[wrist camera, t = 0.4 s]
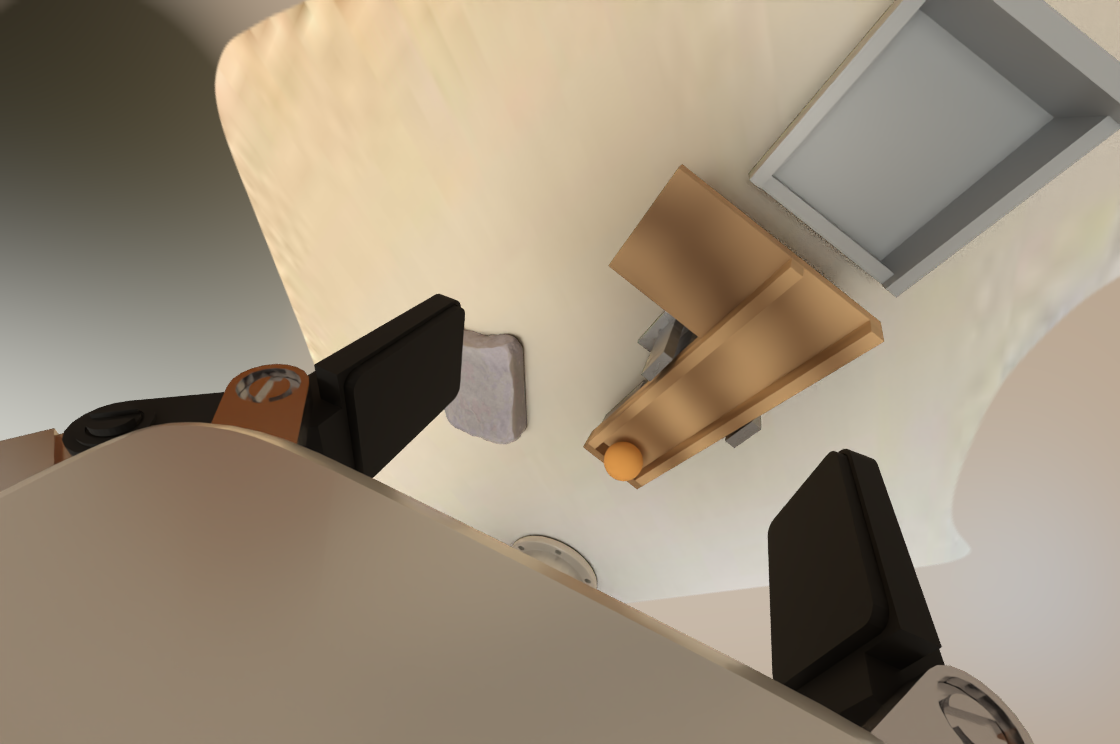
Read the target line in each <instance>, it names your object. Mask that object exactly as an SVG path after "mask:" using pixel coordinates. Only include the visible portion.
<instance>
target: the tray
mask: <svg viewBox="0 0 1120 744" xmlns="http://www.w3.org/2000/svg"><path fill="white" fill-rule="evenodd" d="M1119 129H1120V62H1119V61H1118V60H1117V59H1115V58H1114V57H1113V56H1112V55H1110V54H1109V53H1108V52H1107V51H1105V50H1104V49H1103V48H1102V47H1100V46H1099V45H1098V44H1097V43H1096V42H1094V41H1093V40H1092V39H1091V38H1089V37H1088V36H1087V35H1086V34H1084V33H1083V32H1082V31H1081V30H1079V29H1078V28H1077V27H1076V26H1075V25H1073V24H1072V23H1071V22H1070V21H1068V20H1067V19H1066V18H1065V17H1063V16H1062V15H1061V14H1060V13H1058V12H1057V11H1056V10H1055V9H1054V8H1052V7H1051V6H1050V5H1049V4H1047V3H1046V2H1045V1H1044V0H895V1H894V2H893V3H892V5H891V6H890V7H889V8H888V9H887V10H886V12H885V13H884V14H883V15H882V16H881V18H880V19H879V20H878V21H877V22H876V24H875V25H874V26H873V27H872V28H871V29H870V31H869V32H868V33H867V34H866V35H865V37H864V38H863V39H862V40H861V41H860V42H859V44H858V45H857V46H856V47H855V48H854V50H853V51H852V52H851V53H850V54H849V55H848V57H847V58H846V59H845V60H844V61H843V63H842V64H841V65H840V66H839V67H838V68H837V70H836V71H835V72H834V73H833V74H832V76H831V77H830V78H829V79H828V80H827V82H826V83H825V84H824V85H823V86H822V87H821V89H820V90H819V91H818V92H817V93H816V95H815V96H814V97H813V98H812V99H811V100H810V102H809V103H808V104H807V105H806V106H805V108H804V109H803V110H802V111H801V112H800V113H799V115H798V116H797V117H796V118H795V119H794V121H793V122H792V123H791V124H790V125H789V126H788V128H787V129H786V130H785V131H784V132H783V134H782V135H781V136H780V137H779V138H778V139H777V141H776V142H775V143H774V144H773V145H772V147H771V148H770V149H769V150H768V151H767V153H766V154H765V155H764V156H763V157H762V158H761V160H760V161H759V162H758V163H757V164H756V166H755V167H754V168H753V169H752V170H751V171H750V173H749V180H750V181H751V182H752V183H753V184H755V185H756V186H757V187H758V188H761V189H763V190H764V191H765V192H766V193H768V194H769V195H770V196H771V197H773V198H774V199H775V200H776V201H778V202H779V203H780V204H781V205H783V206H784V207H785V208H786V209H788V210H789V211H790V212H791V213H793V214H794V215H795V216H797V217H798V218H799V219H800V220H802V221H803V222H804V223H805V224H807V225H808V226H809V227H810V228H812V229H813V230H814V231H815V232H817V233H818V234H819V235H820V236H822V237H823V238H824V239H825V240H827V241H828V242H829V243H830V244H832V245H833V246H834V247H835V248H837V249H838V250H839V251H840V252H842V253H843V254H844V255H845V256H847V257H848V258H849V259H850V260H852V261H853V262H854V263H856V264H857V265H858V266H859V267H861V268H862V269H863V270H864V271H866V272H867V273H868V274H869V275H871V276H872V277H873V278H874V279H876V280H877V281H878V282H879V283H881V284H882V285H883V286H884V288H885V289H886V290H888V291H889V292H890V293H891V294H893V295H894V296H895V297H898V296H899V295H900V294H902V293H903V292H904V291H905V290H907V289H908V288H909V287H911V286H912V285H913V284H915V283H916V282H917V281H919V280H920V279H921V278H923V277H924V276H925V275H927V274H928V273H929V272H931V271H932V270H933V269H935V268H936V267H937V266H939V265H940V264H941V263H943V262H944V261H945V260H947V259H948V258H949V257H951V256H952V255H953V254H955V253H956V252H957V251H959V250H960V249H961V248H963V247H964V246H965V245H967V244H968V243H969V242H970V241H972V240H973V239H974V238H976V237H977V236H978V235H980V234H981V233H982V232H984V231H985V230H986V229H988V228H989V227H990V226H992V225H993V224H994V223H996V222H997V221H998V220H1000V219H1001V218H1002V217H1004V216H1005V215H1006V214H1008V213H1009V212H1010V211H1012V210H1013V209H1014V208H1016V207H1017V206H1018V205H1020V204H1021V203H1022V202H1024V201H1025V200H1026V199H1028V198H1029V197H1030V196H1032V195H1033V194H1034V193H1035V192H1037V191H1038V190H1039V189H1041V188H1042V187H1043V186H1045V185H1046V184H1047V183H1049V182H1050V181H1051V180H1053V179H1054V178H1055V177H1057V176H1058V175H1059V174H1061V173H1062V172H1063V171H1065V170H1066V169H1067V168H1069V167H1070V166H1071V165H1073V164H1074V163H1075V162H1077V161H1078V160H1079V159H1081V158H1082V157H1083V156H1085V155H1086V154H1087V153H1089V152H1090V151H1091V150H1093V149H1094V148H1095V147H1096V146H1098V145H1099V144H1100V143H1102V142H1103V141H1104V140H1106V139H1107V138H1108V137H1110V136H1111V135H1112V134H1114V133H1115V132H1116V131H1118V130H1119Z"/></svg>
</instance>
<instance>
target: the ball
mask: <svg viewBox="0 0 1120 744" xmlns="http://www.w3.org/2000/svg"><path fill="white" fill-rule="evenodd" d="M604 465H605V468H606V471H607V472H608V474H609V475H610V476H611V477H613V478H614V479H616V480H619V481H629V480H632V479H634V478H635V477H636V476H637V475H638V474H639V473H640V471H641V469H642V466H643V457H642V454H641V452H640V450H639V449H638V448H637V447H636V446H635V445H633V444H631V443H629V442H617V443H614V444H613V445H611V446H610V447H609V448H608V449H607V451H606V453H605V456H604Z"/></svg>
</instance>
